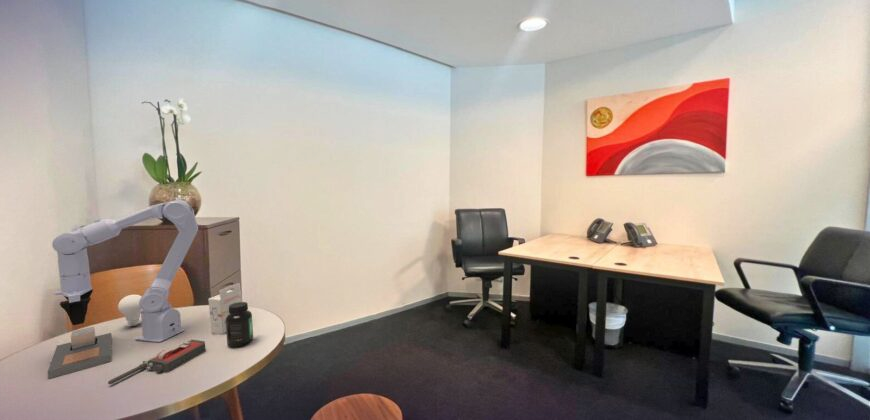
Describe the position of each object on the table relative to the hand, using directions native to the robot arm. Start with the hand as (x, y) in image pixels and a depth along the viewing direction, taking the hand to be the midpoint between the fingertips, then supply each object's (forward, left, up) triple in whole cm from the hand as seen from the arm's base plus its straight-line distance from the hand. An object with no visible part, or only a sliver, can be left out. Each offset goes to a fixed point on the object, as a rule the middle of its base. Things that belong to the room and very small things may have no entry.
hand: (79, 319), depth 92 cm
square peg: (0, 0, -10) cm, 10 cm away
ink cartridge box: (-30, -20, -10) cm, 37 cm away
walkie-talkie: (-31, +2, -10) cm, 33 cm away
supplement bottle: (-42, -12, -10) cm, 45 cm away
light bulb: (+3, -16, -10) cm, 19 cm away
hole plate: (-4, +2, -9) cm, 10 cm away
